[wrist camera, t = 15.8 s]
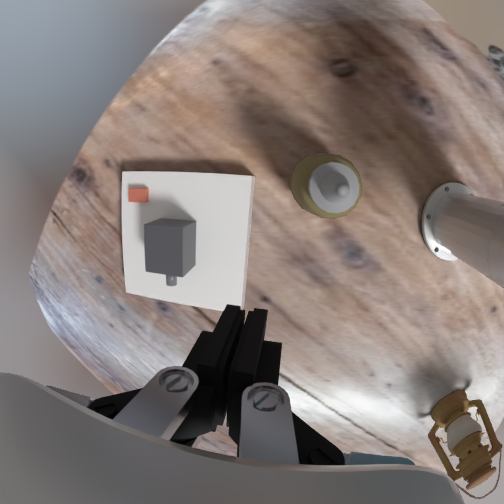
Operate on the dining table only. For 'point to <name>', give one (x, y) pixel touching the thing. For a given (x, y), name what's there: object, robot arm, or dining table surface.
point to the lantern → (464, 439)
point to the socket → (207, 234)
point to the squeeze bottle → (326, 185)
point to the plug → (170, 248)
